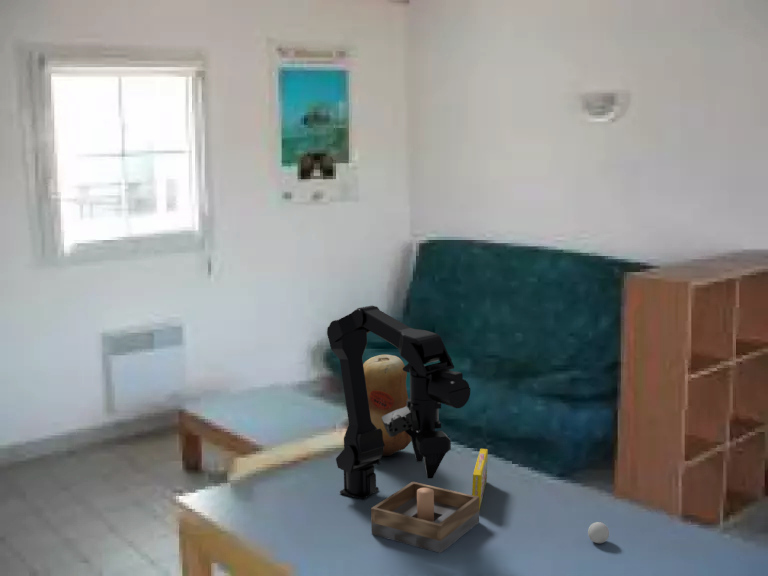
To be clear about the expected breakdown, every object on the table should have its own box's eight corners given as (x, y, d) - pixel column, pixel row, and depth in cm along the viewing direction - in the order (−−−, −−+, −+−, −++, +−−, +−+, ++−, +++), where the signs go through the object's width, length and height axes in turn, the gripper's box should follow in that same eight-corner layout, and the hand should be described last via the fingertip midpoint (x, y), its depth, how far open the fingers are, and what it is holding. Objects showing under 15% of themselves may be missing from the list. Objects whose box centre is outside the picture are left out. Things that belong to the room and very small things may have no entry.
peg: (414, 529, 185) (413, 492, 184) (422, 523, 188) (422, 486, 186) (428, 533, 183) (428, 495, 182) (437, 526, 186) (436, 489, 185)
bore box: (371, 533, 183) (371, 508, 182) (412, 505, 196) (412, 481, 195) (440, 553, 175) (440, 526, 174) (479, 522, 188) (479, 497, 187)
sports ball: (604, 548, 175) (605, 529, 175) (584, 543, 177) (585, 524, 177) (611, 540, 179) (612, 521, 178) (591, 535, 181) (592, 517, 180)
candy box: (481, 512, 193) (481, 475, 191) (471, 511, 193) (471, 474, 192) (488, 482, 208) (488, 448, 207) (478, 482, 209) (478, 447, 207)
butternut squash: (352, 462, 222) (350, 363, 217) (363, 443, 235) (361, 349, 230) (409, 465, 219) (408, 364, 215) (416, 445, 232) (415, 350, 228)
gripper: (375, 385, 190) (376, 456, 193) (394, 413, 172) (395, 491, 175) (427, 382, 192) (427, 452, 195) (451, 409, 174) (451, 486, 177)
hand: (424, 469), depth 185 cm, fingers open, 9 cm apart
